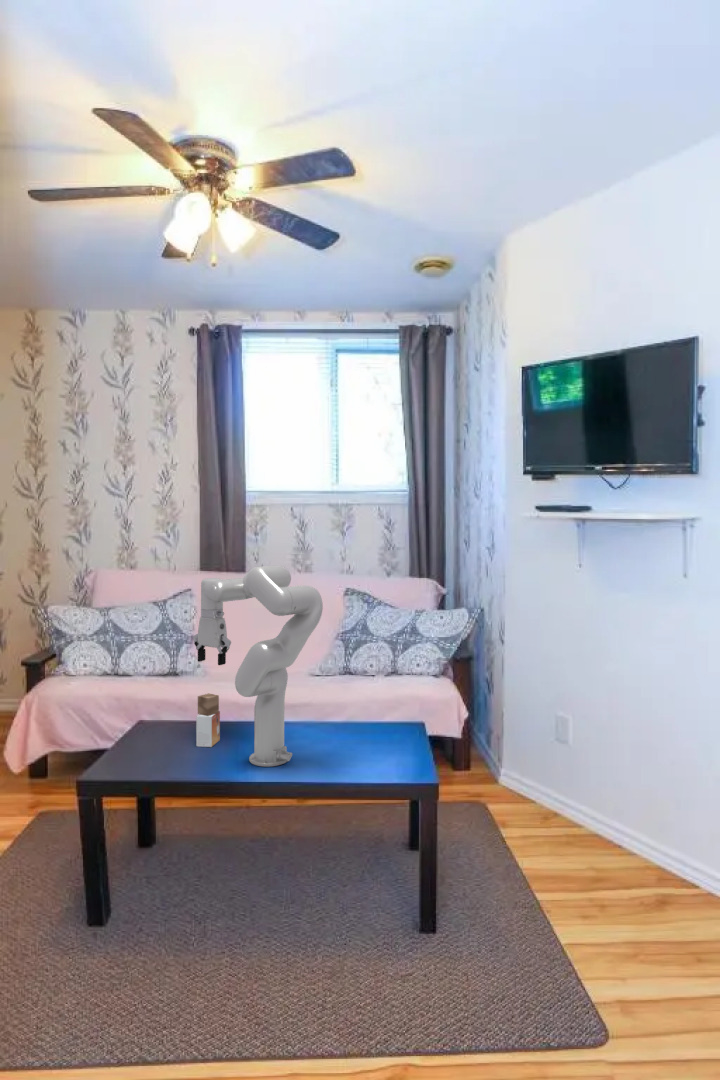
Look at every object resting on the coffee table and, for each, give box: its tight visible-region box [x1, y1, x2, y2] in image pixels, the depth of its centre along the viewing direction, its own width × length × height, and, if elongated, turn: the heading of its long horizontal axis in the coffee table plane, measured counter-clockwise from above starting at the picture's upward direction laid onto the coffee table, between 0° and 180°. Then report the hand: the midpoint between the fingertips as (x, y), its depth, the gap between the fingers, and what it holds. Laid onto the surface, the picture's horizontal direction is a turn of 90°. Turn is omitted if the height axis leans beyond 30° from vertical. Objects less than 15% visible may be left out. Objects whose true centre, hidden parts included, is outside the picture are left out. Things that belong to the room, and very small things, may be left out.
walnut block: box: [197, 693, 220, 716], centre depth 230 cm, size 5×5×6 cm
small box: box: [195, 710, 221, 748], centre depth 230 cm, size 8×6×10 cm
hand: (211, 662), depth 233 cm, fingers open, 9 cm apart
